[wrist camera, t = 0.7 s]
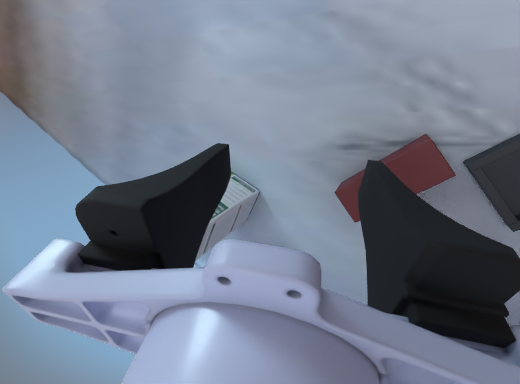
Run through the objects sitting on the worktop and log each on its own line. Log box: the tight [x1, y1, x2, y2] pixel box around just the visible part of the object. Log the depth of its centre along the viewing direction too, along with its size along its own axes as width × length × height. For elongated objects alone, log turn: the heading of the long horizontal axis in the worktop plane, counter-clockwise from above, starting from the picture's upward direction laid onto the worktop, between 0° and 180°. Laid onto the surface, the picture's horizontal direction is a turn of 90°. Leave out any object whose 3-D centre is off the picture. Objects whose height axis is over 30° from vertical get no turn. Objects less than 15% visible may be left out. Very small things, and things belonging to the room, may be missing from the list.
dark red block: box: [335, 134, 456, 222], centre depth 27 cm, size 4×10×4 cm, turn 129°
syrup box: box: [195, 173, 260, 261], centre depth 33 cm, size 6×6×14 cm
